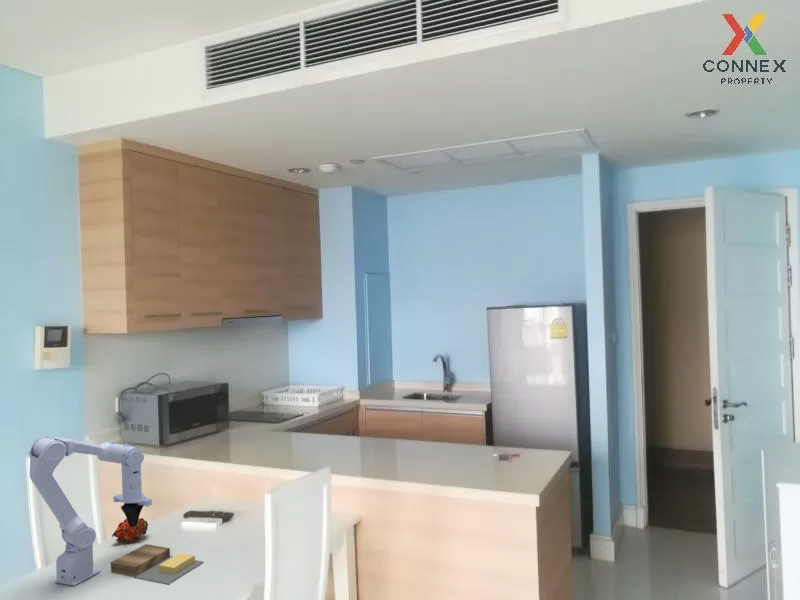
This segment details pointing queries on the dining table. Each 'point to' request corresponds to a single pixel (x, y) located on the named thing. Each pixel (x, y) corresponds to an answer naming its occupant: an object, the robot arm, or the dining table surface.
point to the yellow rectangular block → (176, 563)
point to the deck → (140, 560)
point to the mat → (162, 577)
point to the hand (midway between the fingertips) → (133, 525)
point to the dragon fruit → (130, 531)
